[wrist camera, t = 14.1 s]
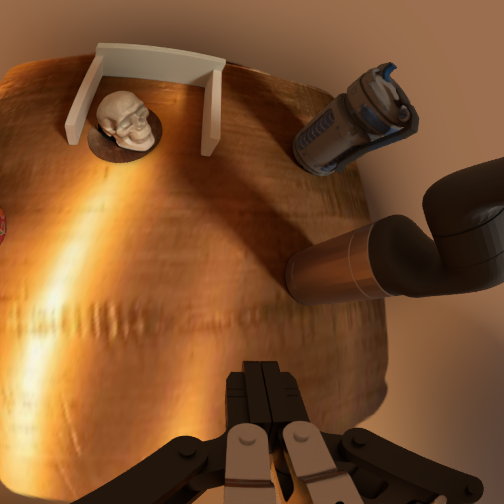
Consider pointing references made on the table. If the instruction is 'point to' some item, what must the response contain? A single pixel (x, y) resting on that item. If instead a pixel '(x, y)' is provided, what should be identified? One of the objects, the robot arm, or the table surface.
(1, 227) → the smoothie
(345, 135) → the beverage bottle
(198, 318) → the table surface
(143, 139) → the skull
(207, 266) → the table surface
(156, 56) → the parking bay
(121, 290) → the table surface
